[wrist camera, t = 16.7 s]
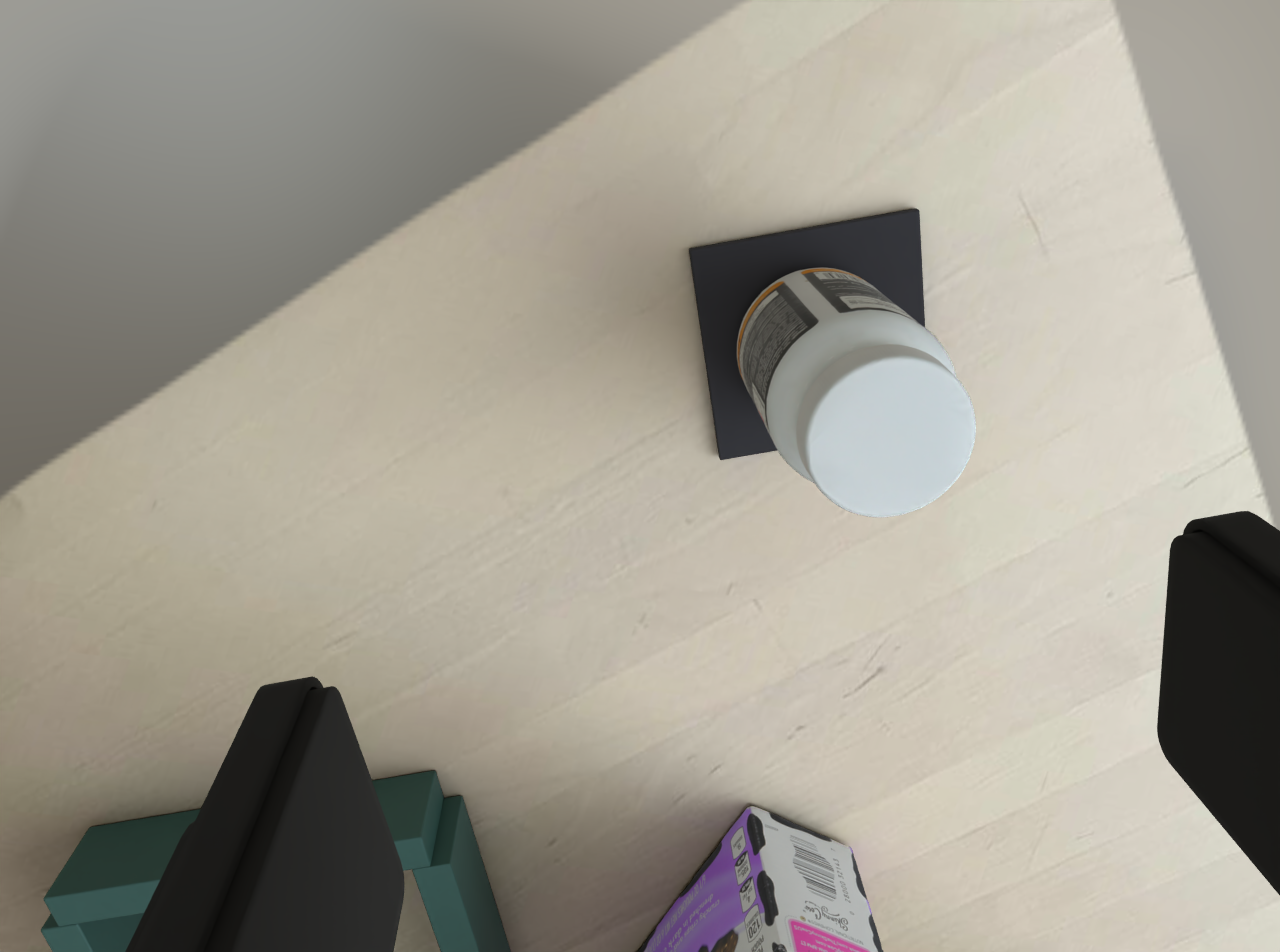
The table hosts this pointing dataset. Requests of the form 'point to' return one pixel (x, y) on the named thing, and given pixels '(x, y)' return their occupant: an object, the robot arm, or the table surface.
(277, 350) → the table surface
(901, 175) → the table surface
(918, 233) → the mat
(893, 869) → the table surface
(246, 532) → the table surface
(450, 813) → the green square frame
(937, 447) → the pill bottle
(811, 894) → the candy box
